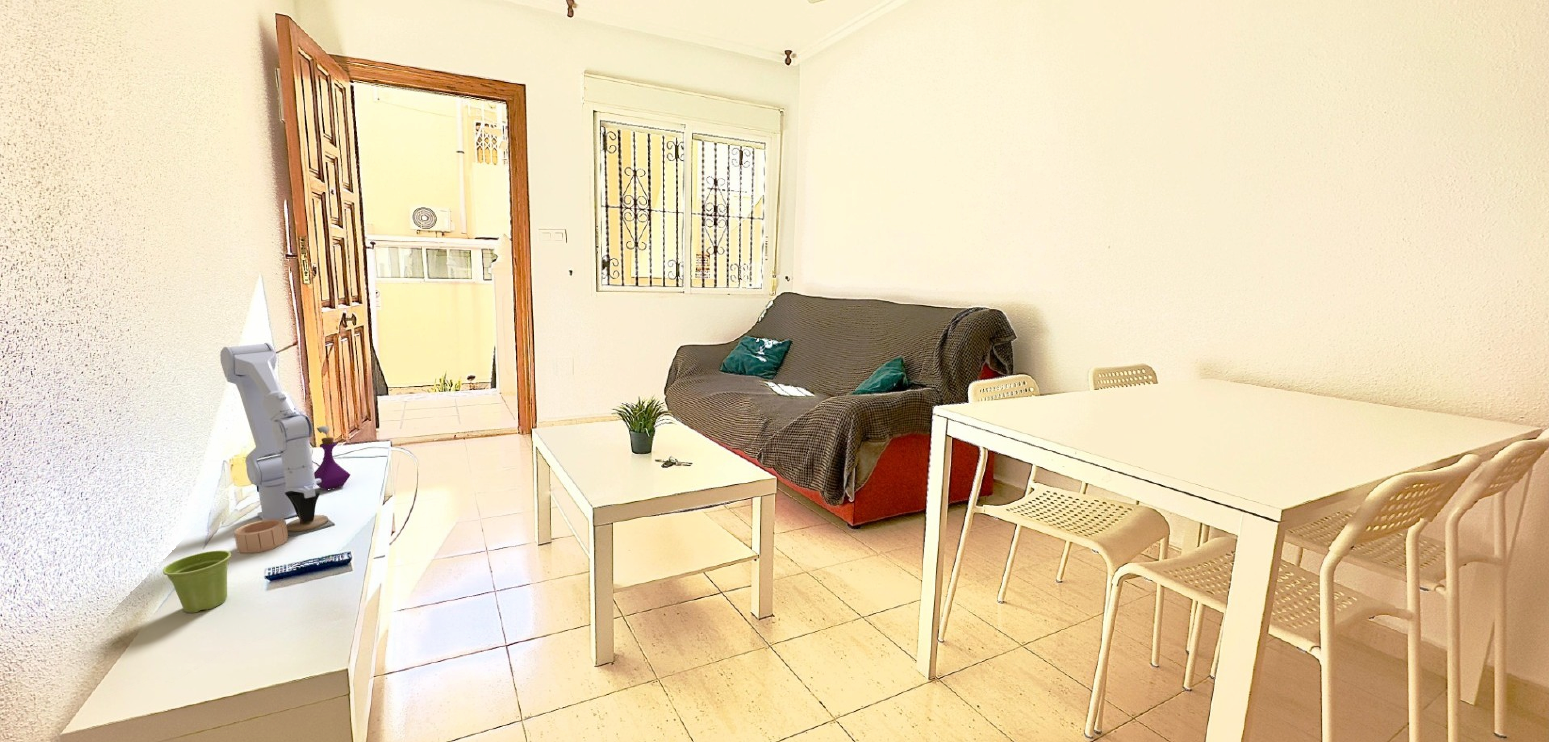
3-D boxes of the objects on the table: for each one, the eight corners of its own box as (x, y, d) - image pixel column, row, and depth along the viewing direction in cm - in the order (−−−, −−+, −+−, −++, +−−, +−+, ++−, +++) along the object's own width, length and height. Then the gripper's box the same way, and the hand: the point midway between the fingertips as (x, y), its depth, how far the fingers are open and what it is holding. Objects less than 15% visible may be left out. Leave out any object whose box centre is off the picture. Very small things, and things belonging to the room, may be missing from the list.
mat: (280, 527, 155) (279, 526, 155) (323, 516, 162) (323, 514, 162) (289, 537, 149) (289, 535, 149) (334, 525, 156) (334, 523, 156)
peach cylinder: (233, 546, 145) (230, 528, 144) (282, 533, 152) (279, 515, 151) (242, 557, 139) (239, 538, 139) (292, 543, 146) (289, 524, 145)
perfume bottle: (352, 485, 185) (343, 425, 182) (323, 493, 179) (314, 431, 176) (340, 481, 189) (331, 422, 186) (311, 489, 183) (302, 428, 180)
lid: (281, 526, 155) (278, 507, 154) (322, 515, 161) (319, 497, 161) (290, 535, 150) (287, 515, 149) (332, 523, 156) (329, 504, 155)
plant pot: (198, 620, 114) (190, 575, 112) (157, 616, 116) (148, 571, 114) (251, 594, 123) (243, 551, 122) (212, 590, 125) (204, 548, 123)
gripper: (326, 467, 151) (334, 521, 154) (309, 456, 161) (317, 507, 163) (290, 474, 146) (299, 530, 148) (274, 463, 155) (283, 516, 158)
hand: (306, 519), depth 155 cm, fingers closed on lid, 3 cm apart
